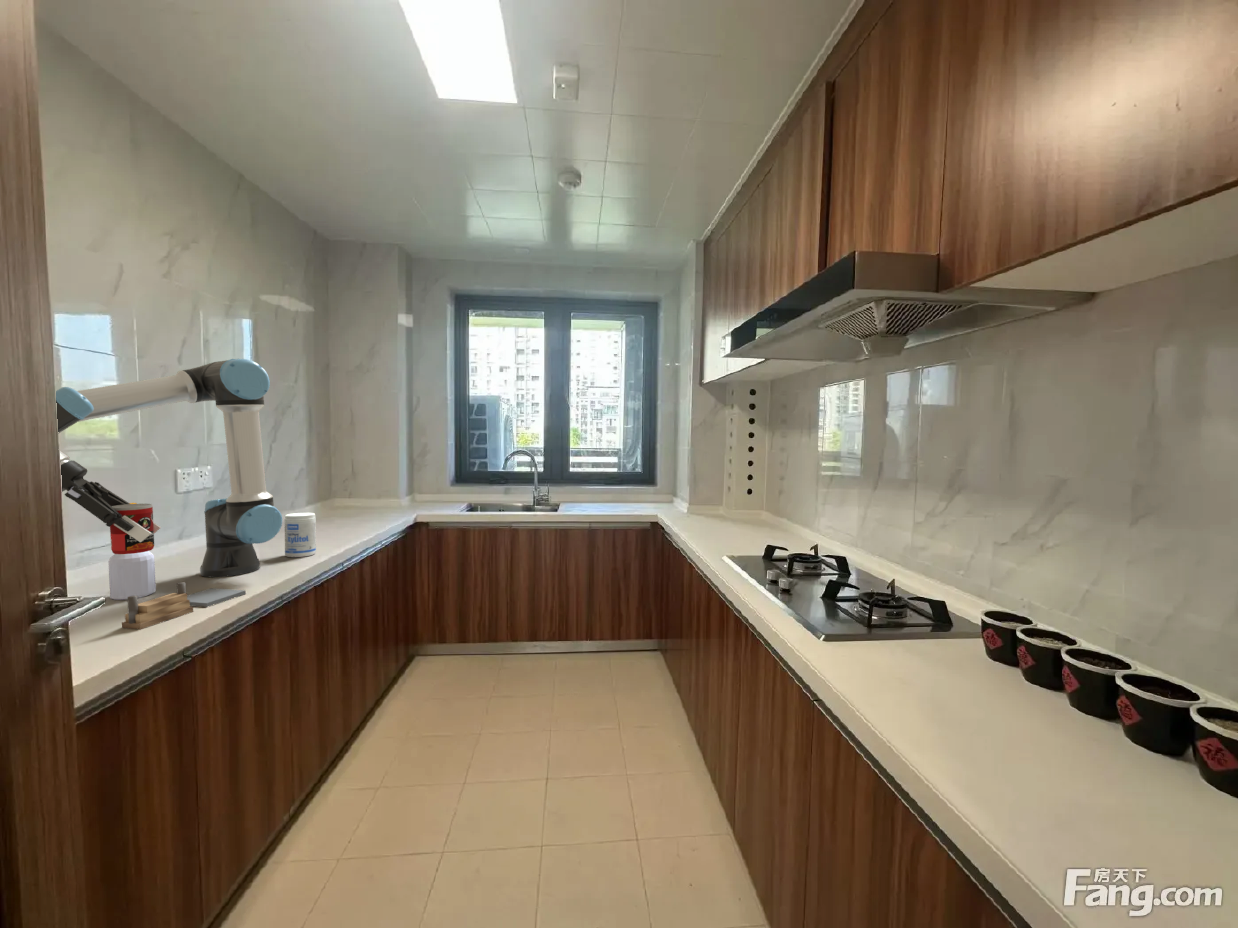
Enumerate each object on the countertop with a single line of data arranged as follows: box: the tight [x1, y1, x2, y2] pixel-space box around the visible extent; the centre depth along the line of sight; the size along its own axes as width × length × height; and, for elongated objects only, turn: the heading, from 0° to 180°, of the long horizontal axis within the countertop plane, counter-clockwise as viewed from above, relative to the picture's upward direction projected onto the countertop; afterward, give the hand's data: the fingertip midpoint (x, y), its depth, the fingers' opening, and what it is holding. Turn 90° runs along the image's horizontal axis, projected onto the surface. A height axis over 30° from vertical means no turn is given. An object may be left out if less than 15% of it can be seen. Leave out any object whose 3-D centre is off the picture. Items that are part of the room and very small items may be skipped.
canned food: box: [109, 503, 155, 555], centre depth 127 cm, size 8×8×11 cm
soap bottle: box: [107, 502, 157, 601], centre depth 141 cm, size 9×9×25 cm
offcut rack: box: [121, 581, 194, 630], centre depth 123 cm, size 12×5×7 cm, turn 169°
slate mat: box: [187, 587, 247, 608], centre depth 138 cm, size 11×11×1 cm
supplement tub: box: [284, 512, 317, 558], centre depth 189 cm, size 10×10×15 cm
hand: (151, 534), depth 129 cm, fingers closed on canned food, 8 cm apart
